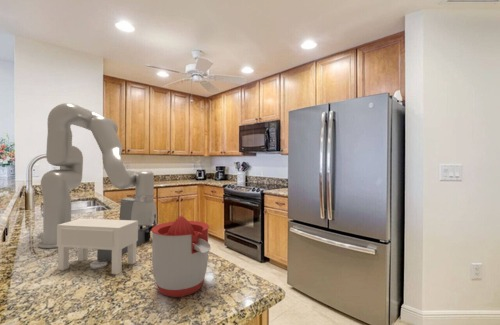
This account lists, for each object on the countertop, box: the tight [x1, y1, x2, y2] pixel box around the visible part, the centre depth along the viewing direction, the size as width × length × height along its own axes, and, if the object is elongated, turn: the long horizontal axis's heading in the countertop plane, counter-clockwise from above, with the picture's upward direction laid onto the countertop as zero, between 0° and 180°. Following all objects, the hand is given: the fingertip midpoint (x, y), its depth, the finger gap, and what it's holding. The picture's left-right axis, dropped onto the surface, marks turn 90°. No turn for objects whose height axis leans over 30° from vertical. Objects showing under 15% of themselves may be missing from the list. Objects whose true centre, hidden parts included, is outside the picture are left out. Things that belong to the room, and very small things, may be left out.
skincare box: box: [118, 197, 135, 220], centre depth 133 cm, size 8×7×16 cm
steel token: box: [89, 259, 108, 270], centre depth 85 cm, size 5×5×2 cm
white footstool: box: [56, 217, 138, 275], centre depth 85 cm, size 22×10×14 cm, turn 82°
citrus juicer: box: [150, 215, 211, 298], centre depth 70 cm, size 16×17×20 cm
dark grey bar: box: [96, 226, 146, 262], centre depth 102 cm, size 8×26×6 cm, turn 172°
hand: (144, 240), depth 112 cm, fingers closed on dark grey bar, 2 cm apart
